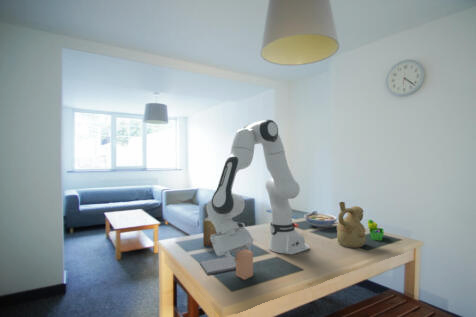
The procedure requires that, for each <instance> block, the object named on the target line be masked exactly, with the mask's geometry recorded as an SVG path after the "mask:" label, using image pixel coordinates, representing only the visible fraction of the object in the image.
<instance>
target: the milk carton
mask: <svg viewBox="0 0 476 317" xmlns="http://www.w3.org/2000/svg"><path fill="white" fill-rule="evenodd" d="M202 222H203V226H202V227H203V232H202V233H203V240H202V241H203V242H202V243H203V244H202V245H203V246H210V247H211V246H212V247H213V244H212V242H211V240H210V237H211V236H212V235H213V234H216V233H217V232H216V230H215V226H214V224H213V223H212V222H211V220H210V218H209V216H208V215H207V217H205V218H204V219H203V221H202Z"/></svg>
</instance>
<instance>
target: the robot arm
mask: <svg viewBox="0 0 476 317" xmlns="http://www.w3.org/2000/svg"><path fill="white" fill-rule="evenodd" d="M280 136H281V135H280V134H279V127H278V125H277V123H276V122H275V121H274V120H272V119H263V120H259V121H256V122H253V123H250V124H247V125H245V126H244V127H243V128H241V129H238V130H237V131H236V132H235V135H234V138H233V140H232V145H231V150H230V153H229V157H228V158H227V159H226V161H225V163H224V165H223V168H222V172H221V175H220V177H219V182H218V184H217V187H216V190H215V192H214V193H213V195H212V197H211V199H210V200H209V201H208V203H207V204H206V206H205V207H206V208H205V209H206V213H207V217H208V216H209V218H210V220H211V222H212V223H213V224H214V226H215V230H216V232H217V233H216V234H213V235H212V236H211V237H210V240H211V242H212V244H213V246H212V247H213V250H214V253H215V255H216V256H218V257H220V256H225V257H227V258H228V259H229V260H230V261H231V263H234V262H235V261H236V256H233V255H231V253H232V252H237V251H240V250H242V249H246V250H249V251H251V245H252V244H253V243H254V238H253V236H252V235H251V233H250V231H249V230H248V229H247V228H245V227H246V225H245V223H243V222H237V221H234V220H233V218H235V217H237V216H239V215H240V214H242V213H243V212H244V210H245V207H246V202H245V199H244V198H243V197H242V196H241V195H238V194H235V193H233V186H234V183H235V179H236V176H237V173H238V172H239V171H241V170H245V169H247V168H248V167H250V166H251V164H252V162H253V158H254V151H255V145H260V144H261V145H262V149H263V156H264V159H265V165H266V168H267V171H268V172H269V173H270V175H271V177H269V178H268V179H267V180H266V182H265V189H266V191H267V194H268V197H269V201H270V202H269V203H270V208H271V209H270V213H271V214H270V215H271V216H270V217H271V218H270V220H271V222H270V239H269V243H268V247H267V248H268V249H269V251H271V252H273V253H276V254H277V253H279V254H286V255H294V254H297V253H301V252H304V251H307V250H310V246H309V244H307V243H305V242H306V239H305V237H304V236H303V235H302V234H301V233H300V232H298V231H297V230H296V229H295V228H299V224H298V223H294V222H293V209H292V206H291V205H290V202H289V200H291V199H295V198H296V197H298V195H299V194H300V190H301V189H300V188H301V186H300V185H299V183H298V182H297V180H296V179H295V178H294V175H293V174H292V172H291V169H290V168H289V166H288V160H287V156H286V153H285V152H286V151H285V148H284V145H283V144H284V143H283V142H282V138H281V137H280Z"/></svg>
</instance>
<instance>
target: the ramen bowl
mask: <svg viewBox="0 0 476 317" xmlns="http://www.w3.org/2000/svg"><path fill="white" fill-rule="evenodd" d="M303 217H304V218H305V220H306V221H307V222H308V223H309V224H310V225H311V226H314V227H316V228H318V229H325V228H327V227H330V226H332V225H335V223H336V222H337V219H338V216H336V215H332V214H329V213H322V212H321V213H319V212H318V210H317V211H315V210H314V211H312V212H310V213H305V214H304V215H303Z"/></svg>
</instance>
